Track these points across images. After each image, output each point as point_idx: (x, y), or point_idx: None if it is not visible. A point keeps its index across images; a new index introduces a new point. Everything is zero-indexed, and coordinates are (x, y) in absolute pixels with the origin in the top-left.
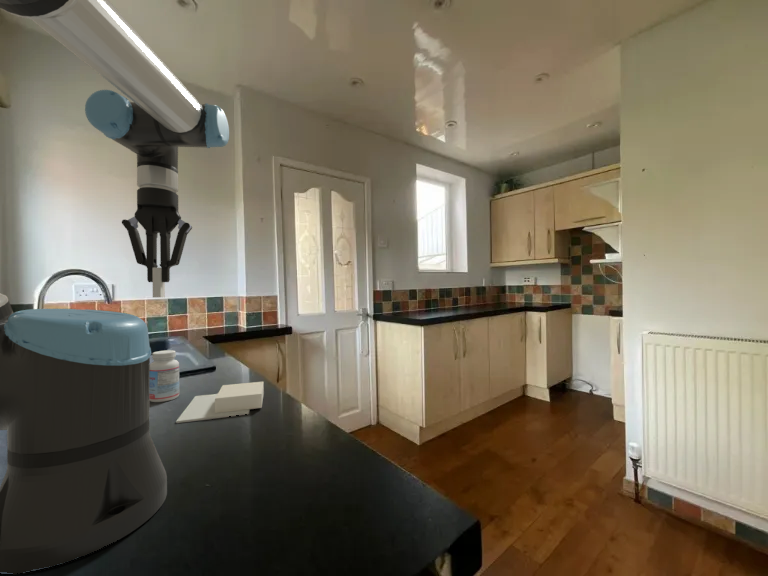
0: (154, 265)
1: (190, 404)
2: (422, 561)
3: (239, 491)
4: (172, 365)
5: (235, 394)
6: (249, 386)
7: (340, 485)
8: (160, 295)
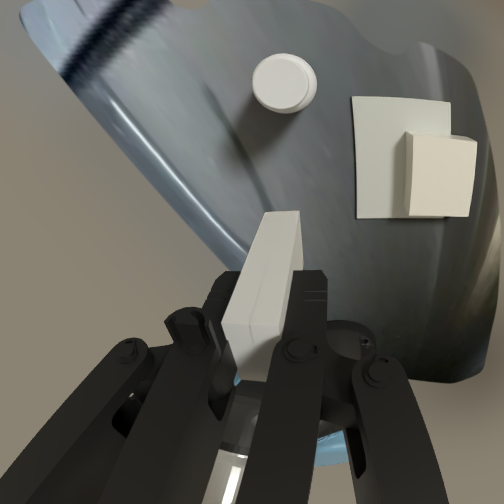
0: (231, 375)
1: (358, 147)
2: (456, 382)
3: (414, 345)
4: (310, 101)
5: (436, 206)
6: (456, 166)
7: (460, 349)
8: (302, 268)
